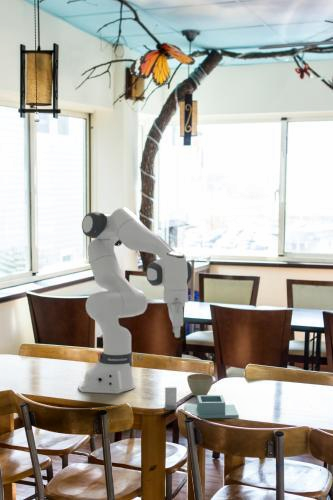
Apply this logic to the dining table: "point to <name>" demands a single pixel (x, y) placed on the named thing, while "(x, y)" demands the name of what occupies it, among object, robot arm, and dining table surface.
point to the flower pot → (199, 383)
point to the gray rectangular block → (170, 398)
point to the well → (212, 407)
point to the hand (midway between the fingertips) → (176, 334)
